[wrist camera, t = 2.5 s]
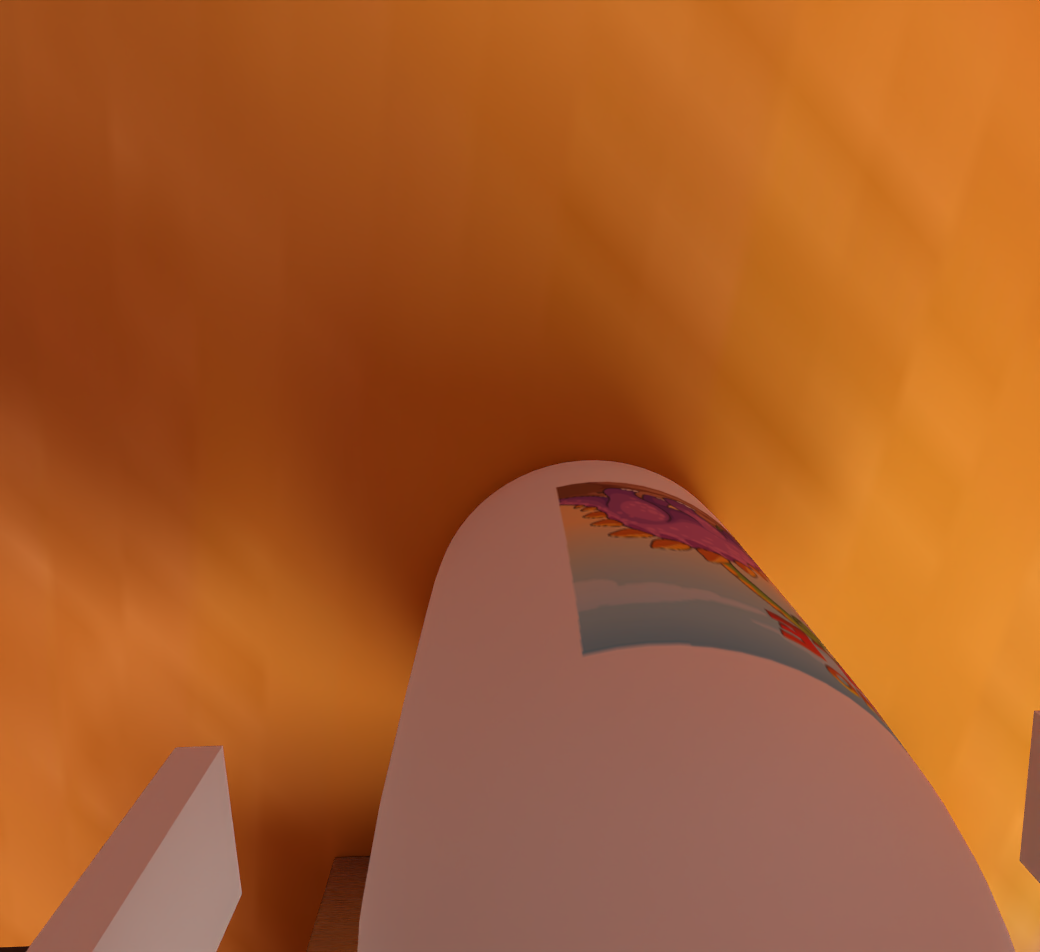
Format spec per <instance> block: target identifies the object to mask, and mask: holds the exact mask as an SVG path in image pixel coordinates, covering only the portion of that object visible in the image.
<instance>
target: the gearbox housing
mask: <svg viewBox="0 0 1040 952" xmlns="http://www.w3.org/2000/svg"><path fill="white" fill-rule="evenodd" d="M369 862H370V856H365V857H342V858H335V859H334V862H333V866H332V869H331V872H330V875H329V879H328V882H327V885H326V889H325V892H324V895H323V898H322V902H321V905H320V908H319V912H318V915H317V918H316V921H315V925H314V928H313V931H312V935H311V938H310V941H309V944H308V948H307V951H306V952H357V951H358V935H359V920H360V914H361V907H362V901H363V895H364V889H365V884H366V878H367V873H368V867H369Z"/></svg>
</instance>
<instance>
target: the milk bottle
mask: <svg viewBox="0 0 1040 952" xmlns="http://www.w3.org/2000/svg"><path fill="white" fill-rule="evenodd" d="M357 952H1015V950H1014V947H1013V944H1012V942H1011V939H1010V936H1009V933H1008V931H1007V928H1006V926H1005V924H1004V921H1003V919H1002V917H1001V914H1000V912H999V910H998V907H997V905H996V903H995V900H994V898H993V896H992V893H991V891H990V889H989V886H988V884H987V882H986V880H985V878H984V876H983V874H982V872H981V870H980V868H979V866H978V864H977V862H976V860H975V858H974V856H973V855H972V853H971V851H970V849H969V848H968V846H967V844H966V842H965V840H964V839H963V837H962V835H961V833H960V832H959V830H958V828H957V826H956V825H955V823H954V821H953V819H952V818H951V816H950V814H949V812H948V811H947V809H946V807H945V805H944V804H943V802H942V801H941V799H940V798H939V796H938V795H937V793H936V792H935V790H934V789H933V787H932V786H931V784H930V783H929V781H928V780H927V779H926V777H925V776H924V775H923V773H922V772H921V770H920V769H919V768H918V766H917V765H916V764H915V762H914V761H913V760H912V758H911V757H910V755H909V754H908V753H907V751H906V750H905V749H904V747H903V746H902V745H901V743H900V742H899V741H898V739H897V738H896V736H895V735H894V734H893V732H892V731H891V730H890V728H889V727H888V726H887V724H886V723H885V721H884V720H883V719H882V717H881V716H880V715H879V713H878V712H877V711H876V709H875V708H874V706H873V705H872V704H871V703H870V702H869V700H868V699H867V698H866V697H865V695H864V694H863V693H862V692H861V690H860V689H859V688H858V687H857V686H856V684H855V683H854V682H853V681H852V679H851V678H850V677H849V676H848V674H847V673H846V672H845V671H844V670H843V668H842V667H841V666H840V665H839V663H838V662H837V661H836V660H835V658H834V657H833V656H832V655H831V654H830V652H829V651H828V650H827V649H826V647H825V646H824V645H823V644H822V643H821V641H820V640H819V639H818V638H817V636H816V635H815V634H814V633H813V631H812V630H811V629H810V628H809V627H808V625H807V624H806V623H805V622H804V620H803V619H802V618H801V617H800V616H799V614H798V613H797V612H796V611H795V610H794V608H793V607H792V606H791V605H790V604H789V602H788V601H787V600H786V599H785V598H784V596H783V595H782V594H781V593H780V592H779V590H778V589H777V588H776V587H775V586H774V585H773V583H772V582H771V581H770V580H769V579H768V577H767V576H766V575H765V574H764V573H763V571H762V570H761V569H760V568H759V567H758V565H757V564H756V563H755V562H754V561H753V560H752V558H751V557H750V556H749V555H748V554H747V552H746V551H745V550H744V549H743V548H742V546H741V545H740V544H739V543H738V542H737V541H736V539H735V538H734V537H733V536H732V535H731V534H730V532H729V531H728V530H727V529H726V528H725V527H724V525H723V524H722V523H721V522H720V521H719V520H718V519H717V518H716V517H715V516H714V515H713V514H712V513H711V512H710V511H709V510H708V509H707V508H706V507H705V506H704V505H703V504H702V503H701V502H700V501H699V500H698V499H697V498H696V497H694V496H693V495H692V494H691V493H689V492H688V491H687V490H686V489H684V488H683V487H681V486H679V485H678V484H676V483H675V482H673V481H671V480H669V479H667V478H665V477H663V476H661V475H659V474H657V473H655V472H652V471H649V470H647V469H644V468H641V467H637V466H634V465H630V464H625V463H619V462H614V461H601V460H583V461H573V462H565V463H560V464H555V465H551V466H547V467H544V468H541V469H538V470H535V471H532V472H530V473H528V474H525V475H523V476H521V477H519V478H517V479H515V480H513V481H511V482H509V483H508V484H506V485H504V486H503V487H501V488H500V489H498V490H497V491H496V492H494V493H493V494H491V495H490V496H489V497H488V498H487V499H485V500H484V501H483V502H482V503H481V504H480V505H479V506H478V507H477V508H476V509H475V510H474V511H473V512H472V513H471V514H470V515H469V516H468V518H467V519H466V520H465V521H464V523H463V524H462V525H461V526H460V528H459V529H458V531H457V533H456V534H455V536H454V537H453V539H452V541H451V543H450V544H449V546H448V548H447V550H446V552H445V555H444V557H443V560H442V563H441V565H440V568H439V571H438V574H437V576H436V579H435V583H434V586H433V590H432V594H431V597H430V601H429V605H428V609H427V613H426V617H425V620H424V624H423V628H422V632H421V636H420V640H419V644H418V648H417V652H416V656H415V660H414V664H413V668H412V672H411V676H410V680H409V684H408V688H407V692H406V696H405V700H404V704H403V708H402V712H401V717H400V721H399V725H398V730H397V734H396V738H395V742H394V747H393V751H392V755H391V759H390V764H389V768H388V772H387V777H386V781H385V785H384V789H383V794H382V798H381V802H380V807H379V812H378V818H377V823H376V829H375V834H374V840H373V845H372V851H371V856H370V862H369V867H368V873H367V878H366V884H365V889H364V895H363V901H362V907H361V914H360V920H359V935H358V951H357Z"/></svg>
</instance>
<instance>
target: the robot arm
mask: <svg viewBox="0 0 1040 952" xmlns="http://www.w3.org/2000/svg"><path fill="white" fill-rule="evenodd" d="M1020 861H1021V863H1022V864H1023V865H1024V866H1025V867H1026V868H1027V869H1028V871H1029V872H1030V873H1031V874H1032V875H1033V876H1034V877H1035V878H1036V880H1037V881H1038V882H1039V883H1040V711H1034V718H1033V728H1032V738H1031V749H1030V759H1029V769H1028V780H1027V790H1026V800H1025V811H1024V821H1023V832H1022V842H1021V852H1020ZM241 895H242V890H241V882H240V875H239V867H238V859H237V851H236V844H235V836H234V828H233V821H232V813H231V805H230V797H229V790H228V782H227V774H226V767H225V759H224V751H223V746H202V747H178V748H175V749H174V750H173V752H172V753H171V754H170V756H169V757H168V758H167V760H166V761H165V763H164V764H163V765H162V767H161V768H160V769H159V771H158V772H157V773H156V775H155V776H154V778H153V779H152V780H151V782H150V783H149V784H148V786H147V787H146V789H145V790H144V791H143V793H142V794H141V795H140V797H139V798H138V799H137V801H136V802H135V804H134V805H133V806H132V808H131V809H130V810H129V812H128V813H127V814H126V816H125V817H124V819H123V820H122V821H121V823H120V824H119V825H118V827H117V828H116V829H115V831H114V832H113V834H112V835H111V836H110V838H109V839H108V840H107V842H106V843H105V844H104V846H103V847H102V849H101V850H100V851H99V853H98V854H97V855H96V857H95V858H94V859H93V861H92V862H91V864H90V865H89V866H88V868H87V869H86V870H85V872H84V873H83V874H82V876H81V877H80V879H79V880H78V881H77V883H76V884H75V885H74V887H73V888H72V889H71V891H70V892H69V894H68V895H67V896H66V898H65V899H64V900H63V902H62V903H61V905H60V906H59V907H58V909H57V910H56V911H55V913H54V914H53V915H52V917H51V918H50V920H49V921H48V922H47V924H46V925H45V926H44V928H43V929H42V930H41V932H40V933H39V935H38V936H37V937H36V939H35V940H34V941H33V943H32V944H31V945H30V946H26V947H2V948H0V952H216V951H217V949H218V947H219V944H220V942H221V940H222V938H223V935H224V933H225V931H226V929H227V926H228V924H229V922H230V920H231V917H232V915H233V913H234V911H235V908H236V906H237V904H238V902H239V899H240V897H241Z"/></svg>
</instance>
